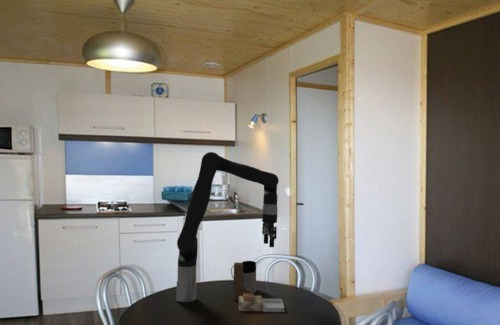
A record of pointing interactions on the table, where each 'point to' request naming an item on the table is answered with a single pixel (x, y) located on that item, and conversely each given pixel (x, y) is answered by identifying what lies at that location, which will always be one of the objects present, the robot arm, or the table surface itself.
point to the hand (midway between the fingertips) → (268, 245)
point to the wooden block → (239, 282)
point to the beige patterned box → (251, 304)
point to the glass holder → (249, 275)
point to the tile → (248, 296)
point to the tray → (273, 305)
